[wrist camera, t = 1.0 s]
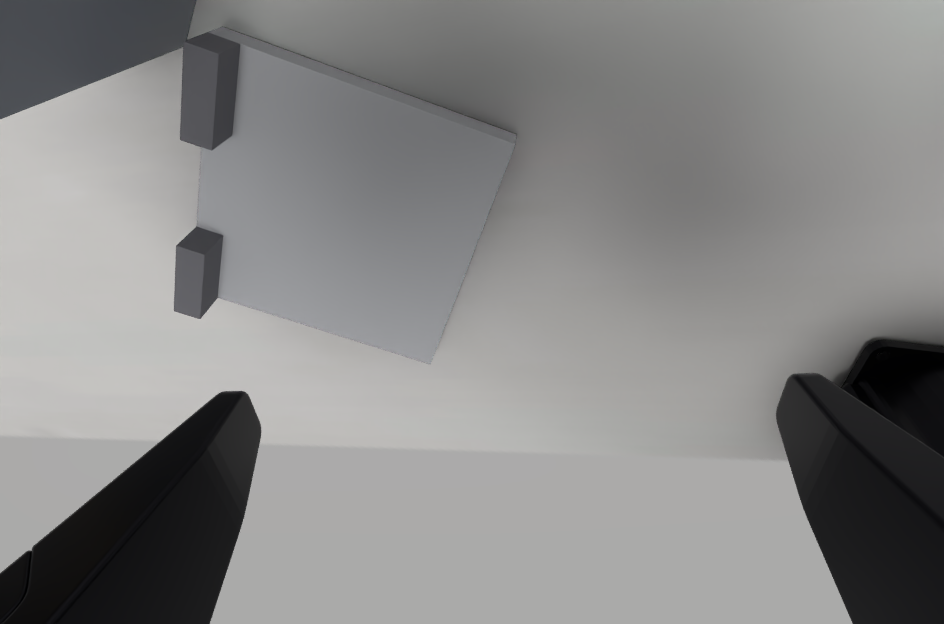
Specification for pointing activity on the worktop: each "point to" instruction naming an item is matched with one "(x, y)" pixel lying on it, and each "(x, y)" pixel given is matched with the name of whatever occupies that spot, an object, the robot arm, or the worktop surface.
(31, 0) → the grey block
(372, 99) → the pad
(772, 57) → the worktop surface
